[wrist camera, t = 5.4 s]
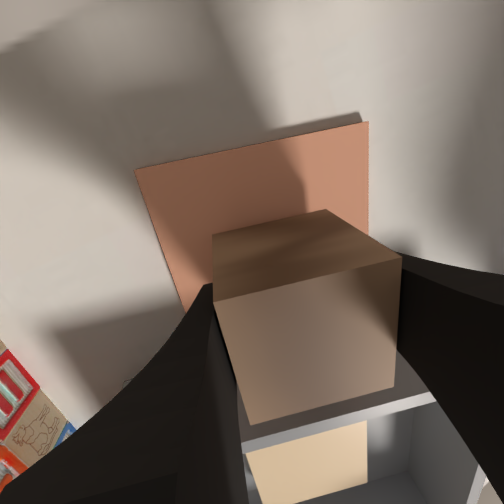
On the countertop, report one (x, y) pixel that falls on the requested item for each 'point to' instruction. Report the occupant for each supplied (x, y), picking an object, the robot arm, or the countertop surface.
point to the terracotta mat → (252, 194)
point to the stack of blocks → (25, 420)
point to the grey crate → (361, 451)
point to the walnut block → (306, 312)
